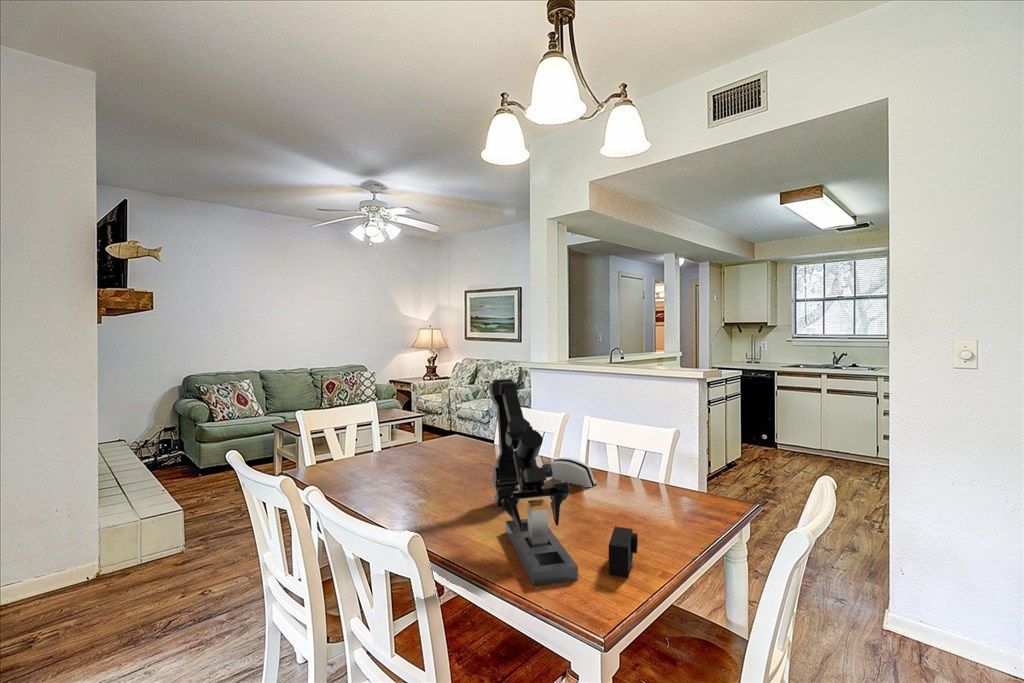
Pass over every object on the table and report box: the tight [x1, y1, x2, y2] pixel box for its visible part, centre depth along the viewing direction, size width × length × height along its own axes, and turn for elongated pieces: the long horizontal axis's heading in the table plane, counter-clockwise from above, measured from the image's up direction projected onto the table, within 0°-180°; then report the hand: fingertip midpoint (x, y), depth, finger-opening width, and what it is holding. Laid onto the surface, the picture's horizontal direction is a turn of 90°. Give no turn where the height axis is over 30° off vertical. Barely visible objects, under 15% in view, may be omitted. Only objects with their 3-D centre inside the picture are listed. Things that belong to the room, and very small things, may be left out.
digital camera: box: [608, 526, 639, 579], centre depth 109 cm, size 10×5×7 cm, turn 160°
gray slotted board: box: [505, 518, 579, 587], centre depth 116 cm, size 28×10×3 cm, turn 13°
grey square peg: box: [527, 499, 549, 548], centre depth 116 cm, size 4×4×12 cm
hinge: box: [550, 457, 598, 488], centre depth 169 cm, size 17×5×10 cm, turn 49°
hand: (539, 527), depth 115 cm, fingers open, 9 cm apart
